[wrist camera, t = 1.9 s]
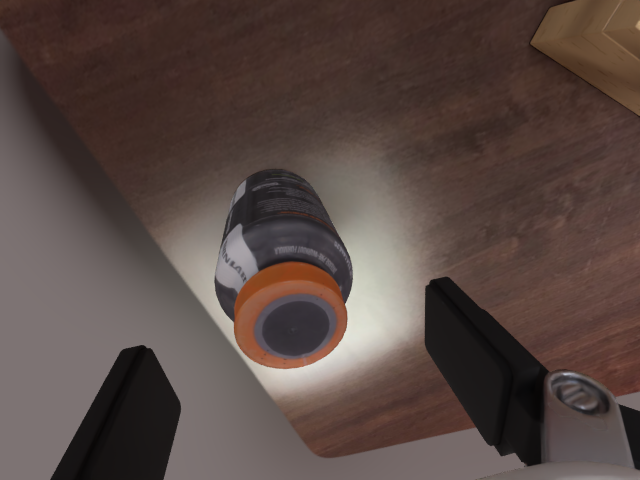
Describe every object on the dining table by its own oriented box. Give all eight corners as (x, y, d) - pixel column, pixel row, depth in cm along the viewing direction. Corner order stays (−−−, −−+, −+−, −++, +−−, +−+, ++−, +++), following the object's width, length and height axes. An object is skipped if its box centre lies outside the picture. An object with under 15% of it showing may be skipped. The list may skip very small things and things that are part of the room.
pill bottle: (209, 207, 20) (158, 333, 10) (281, 147, 19) (307, 216, 9) (271, 266, 22) (282, 412, 12) (337, 216, 21) (405, 329, 11)
